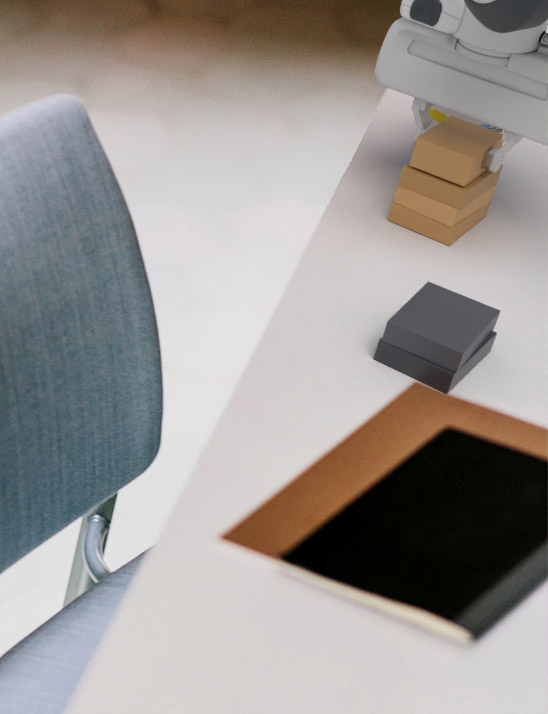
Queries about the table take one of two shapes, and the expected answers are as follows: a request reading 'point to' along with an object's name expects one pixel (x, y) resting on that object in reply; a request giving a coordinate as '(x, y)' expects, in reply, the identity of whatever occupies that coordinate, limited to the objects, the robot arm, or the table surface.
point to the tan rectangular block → (454, 150)
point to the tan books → (441, 203)
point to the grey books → (438, 337)
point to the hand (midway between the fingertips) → (455, 155)
